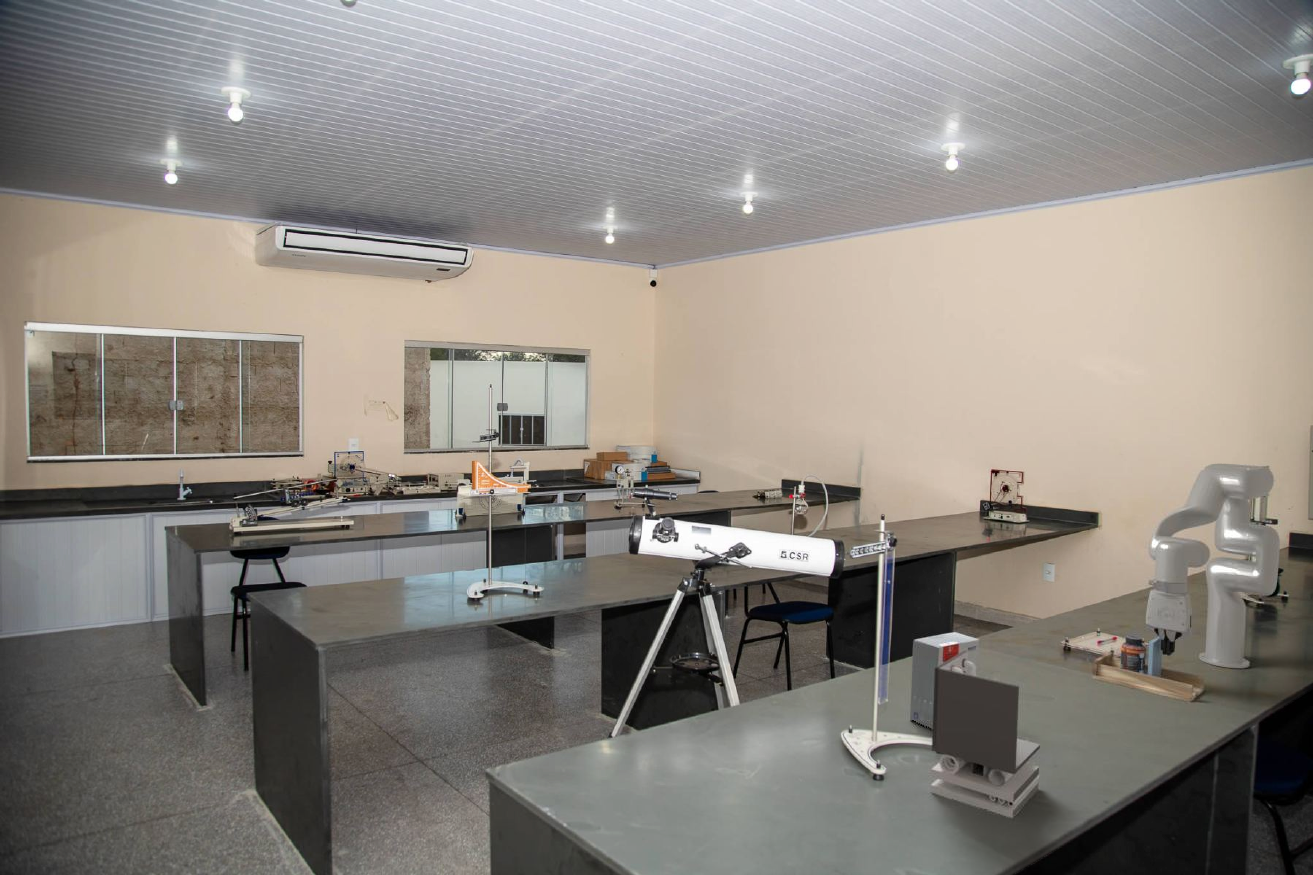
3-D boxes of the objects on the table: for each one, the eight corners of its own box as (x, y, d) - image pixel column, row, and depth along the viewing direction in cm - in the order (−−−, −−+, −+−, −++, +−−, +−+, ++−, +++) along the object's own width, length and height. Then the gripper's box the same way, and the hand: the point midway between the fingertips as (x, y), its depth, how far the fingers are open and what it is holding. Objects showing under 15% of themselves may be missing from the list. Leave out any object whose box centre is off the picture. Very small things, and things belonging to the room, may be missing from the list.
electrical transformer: (930, 792, 166) (934, 668, 165) (966, 761, 181) (970, 646, 180) (1012, 819, 156) (1017, 687, 155) (1043, 783, 171) (1048, 662, 169)
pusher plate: (1156, 677, 234) (1158, 636, 233) (1160, 678, 233) (1162, 636, 232) (1147, 684, 228) (1149, 641, 228) (1151, 685, 227) (1153, 642, 227)
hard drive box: (934, 731, 197) (936, 647, 196) (908, 720, 203) (910, 639, 202) (976, 718, 205) (979, 638, 204) (950, 708, 212) (953, 630, 211)
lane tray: (1108, 668, 245) (1109, 651, 245) (1204, 690, 228) (1205, 672, 227) (1092, 678, 236) (1093, 660, 236) (1190, 701, 219) (1191, 683, 218)
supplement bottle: (1148, 681, 232) (1150, 640, 231) (1125, 679, 232) (1127, 639, 232) (1138, 673, 237) (1140, 634, 237) (1116, 672, 238) (1118, 633, 238)
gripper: (1135, 584, 230) (1132, 650, 231) (1198, 594, 219) (1195, 663, 220) (1144, 580, 235) (1141, 645, 236) (1206, 590, 224) (1203, 657, 225)
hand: (1167, 653), depth 228 cm, fingers closed
